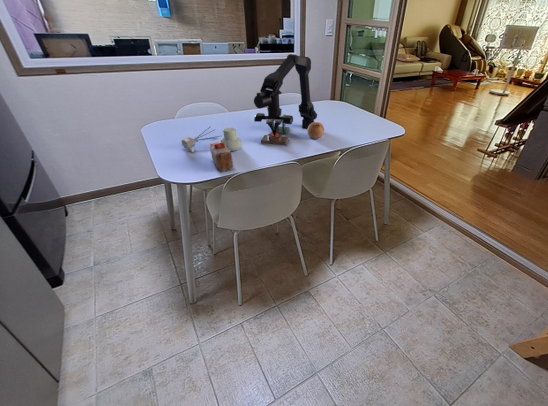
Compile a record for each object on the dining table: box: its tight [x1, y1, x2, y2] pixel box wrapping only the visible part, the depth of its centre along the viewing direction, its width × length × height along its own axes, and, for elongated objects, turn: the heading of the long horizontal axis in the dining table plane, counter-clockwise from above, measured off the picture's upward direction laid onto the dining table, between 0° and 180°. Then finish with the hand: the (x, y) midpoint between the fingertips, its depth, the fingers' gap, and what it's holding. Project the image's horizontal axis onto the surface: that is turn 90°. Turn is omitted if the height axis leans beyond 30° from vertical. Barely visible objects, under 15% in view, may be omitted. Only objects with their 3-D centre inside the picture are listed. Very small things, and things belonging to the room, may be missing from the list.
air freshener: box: [220, 127, 243, 152], centre depth 138 cm, size 11×8×10 cm
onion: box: [306, 121, 325, 140], centre depth 158 cm, size 10×9×10 cm
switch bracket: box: [271, 114, 290, 135], centre depth 163 cm, size 10×8×9 cm
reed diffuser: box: [181, 126, 221, 153], centre depth 143 cm, size 10×7×20 cm
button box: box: [260, 132, 290, 146], centre depth 151 cm, size 13×8×4 cm, turn 86°
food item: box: [209, 141, 234, 172], centre depth 124 cm, size 14×8×10 cm, turn 31°
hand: (274, 134), depth 149 cm, fingers closed, pressing on push button
